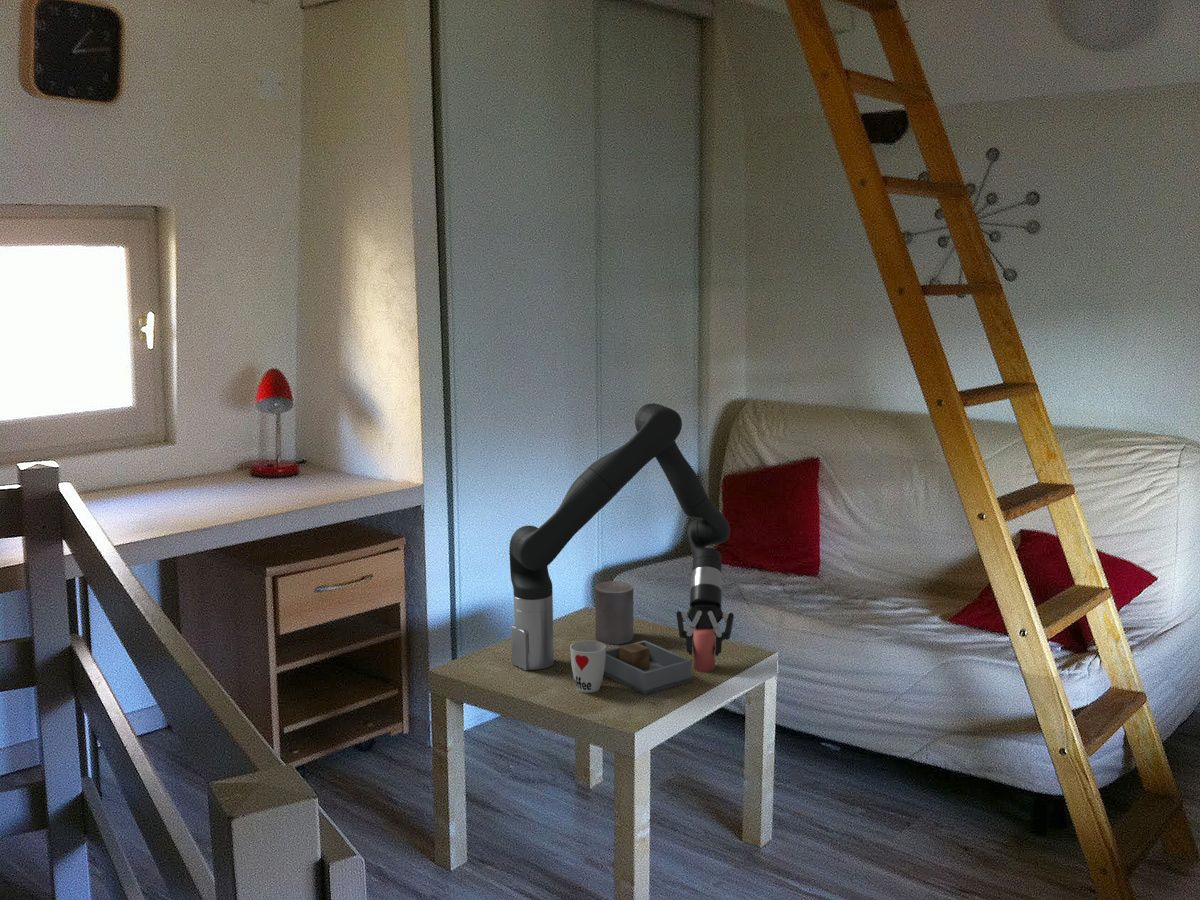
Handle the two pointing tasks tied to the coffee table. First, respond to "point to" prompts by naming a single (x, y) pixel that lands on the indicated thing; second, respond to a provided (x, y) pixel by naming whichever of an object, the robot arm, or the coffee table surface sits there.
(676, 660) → the tote
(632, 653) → the walnut cube
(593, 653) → the cup
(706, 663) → the red capsule
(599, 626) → the pillar candle
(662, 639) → the coffee table surface
